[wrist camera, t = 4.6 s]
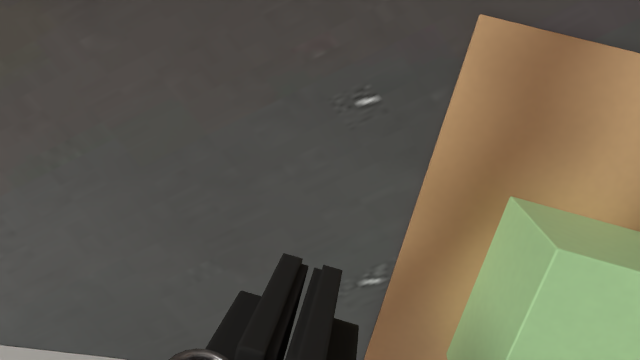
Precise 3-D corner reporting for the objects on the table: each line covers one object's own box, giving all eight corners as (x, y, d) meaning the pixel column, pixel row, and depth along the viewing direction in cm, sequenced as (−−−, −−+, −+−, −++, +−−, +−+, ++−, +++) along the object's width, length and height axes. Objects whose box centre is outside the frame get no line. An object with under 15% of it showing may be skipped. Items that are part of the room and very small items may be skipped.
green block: (712, 251, 15) (845, 330, 10) (621, 408, 17) (701, 527, 12) (509, 195, 15) (557, 248, 11) (445, 354, 17) (464, 450, 13)
